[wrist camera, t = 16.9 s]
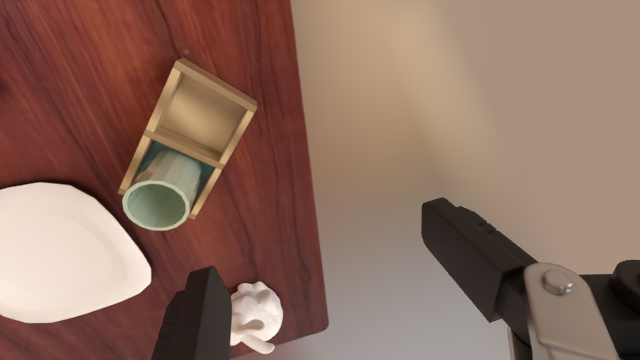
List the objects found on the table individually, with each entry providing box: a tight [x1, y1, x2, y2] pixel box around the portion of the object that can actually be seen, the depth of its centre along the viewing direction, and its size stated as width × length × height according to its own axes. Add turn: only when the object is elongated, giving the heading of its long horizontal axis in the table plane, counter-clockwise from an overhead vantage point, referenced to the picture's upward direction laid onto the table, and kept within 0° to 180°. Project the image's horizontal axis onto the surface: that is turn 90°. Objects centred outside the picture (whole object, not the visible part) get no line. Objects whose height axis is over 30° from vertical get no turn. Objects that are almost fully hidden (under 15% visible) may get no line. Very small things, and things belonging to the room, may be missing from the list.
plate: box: [0, 182, 151, 323], centre depth 37 cm, size 22×22×2 cm
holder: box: [118, 58, 257, 219], centre depth 33 cm, size 17×9×3 cm, turn 146°
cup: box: [122, 148, 202, 231], centre depth 31 cm, size 6×6×9 cm
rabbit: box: [230, 282, 283, 354], centre depth 45 cm, size 12×9×12 cm
